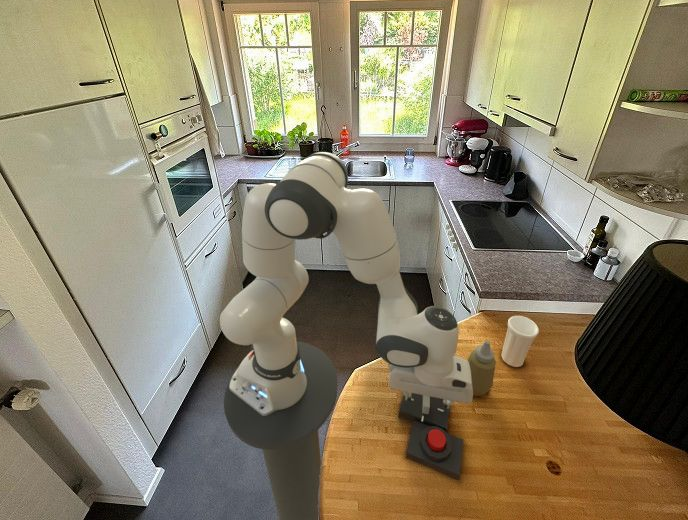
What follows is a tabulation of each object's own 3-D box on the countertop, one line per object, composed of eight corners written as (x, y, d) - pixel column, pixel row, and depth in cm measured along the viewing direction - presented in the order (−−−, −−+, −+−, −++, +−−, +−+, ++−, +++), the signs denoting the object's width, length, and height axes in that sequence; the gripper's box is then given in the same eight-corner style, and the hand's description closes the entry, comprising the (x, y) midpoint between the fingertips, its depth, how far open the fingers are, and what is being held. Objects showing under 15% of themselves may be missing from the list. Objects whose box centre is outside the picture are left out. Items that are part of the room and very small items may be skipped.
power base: (405, 457, 76) (406, 448, 74) (413, 425, 82) (414, 415, 80) (458, 480, 72) (461, 471, 70) (461, 444, 78) (464, 434, 76)
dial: (428, 414, 81) (429, 406, 80) (422, 413, 82) (423, 405, 80) (428, 396, 86) (429, 388, 84) (422, 395, 86) (424, 387, 84)
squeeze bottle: (459, 395, 89) (471, 350, 81) (460, 371, 96) (470, 327, 87) (491, 404, 87) (506, 358, 78) (489, 378, 94) (502, 334, 85)
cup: (528, 373, 95) (541, 339, 88) (498, 366, 97) (509, 332, 90) (524, 352, 102) (536, 318, 95) (496, 345, 104) (506, 312, 97)
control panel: (397, 419, 83) (398, 412, 82) (406, 388, 91) (407, 381, 89) (445, 437, 79) (446, 430, 78) (449, 404, 87) (451, 396, 85)
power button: (425, 447, 74) (426, 443, 73) (429, 430, 77) (429, 426, 77) (443, 454, 73) (444, 450, 72) (446, 437, 76) (447, 433, 75)
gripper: (387, 369, 76) (385, 405, 82) (478, 385, 72) (468, 422, 78) (390, 347, 81) (387, 383, 88) (475, 362, 77) (466, 398, 84)
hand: (426, 401), depth 83 cm, fingers open, 8 cm apart
